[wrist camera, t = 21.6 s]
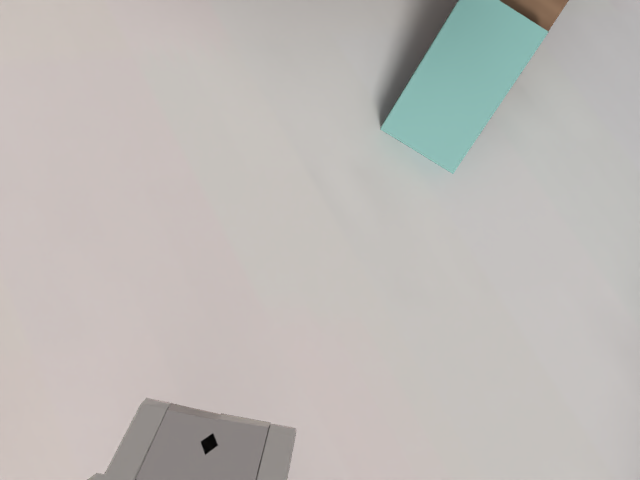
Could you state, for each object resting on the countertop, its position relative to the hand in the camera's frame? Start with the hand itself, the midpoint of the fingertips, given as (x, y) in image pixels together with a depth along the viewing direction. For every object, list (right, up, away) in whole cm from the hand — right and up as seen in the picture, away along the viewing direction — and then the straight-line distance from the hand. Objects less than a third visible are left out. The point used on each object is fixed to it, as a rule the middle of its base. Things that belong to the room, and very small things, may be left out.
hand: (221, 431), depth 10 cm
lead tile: (+8, +9, +21) cm, 24 cm away
